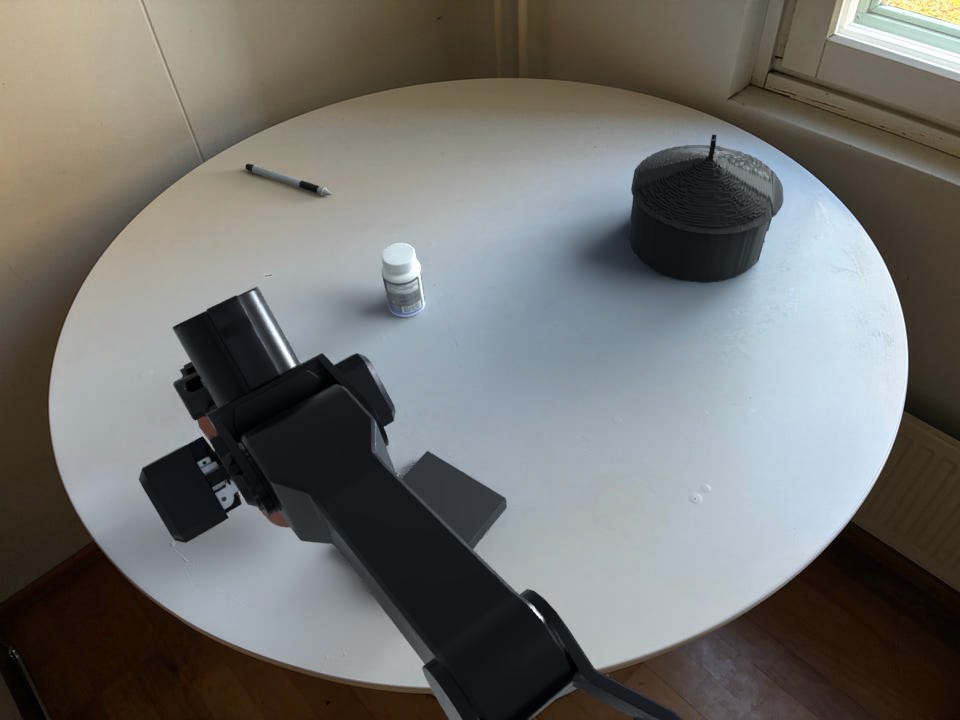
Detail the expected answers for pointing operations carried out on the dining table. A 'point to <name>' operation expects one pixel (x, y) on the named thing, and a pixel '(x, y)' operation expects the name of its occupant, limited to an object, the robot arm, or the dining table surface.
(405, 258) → the pill bottle
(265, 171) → the pen
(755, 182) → the hut
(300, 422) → the robot arm
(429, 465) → the scale
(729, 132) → the dining table surface
